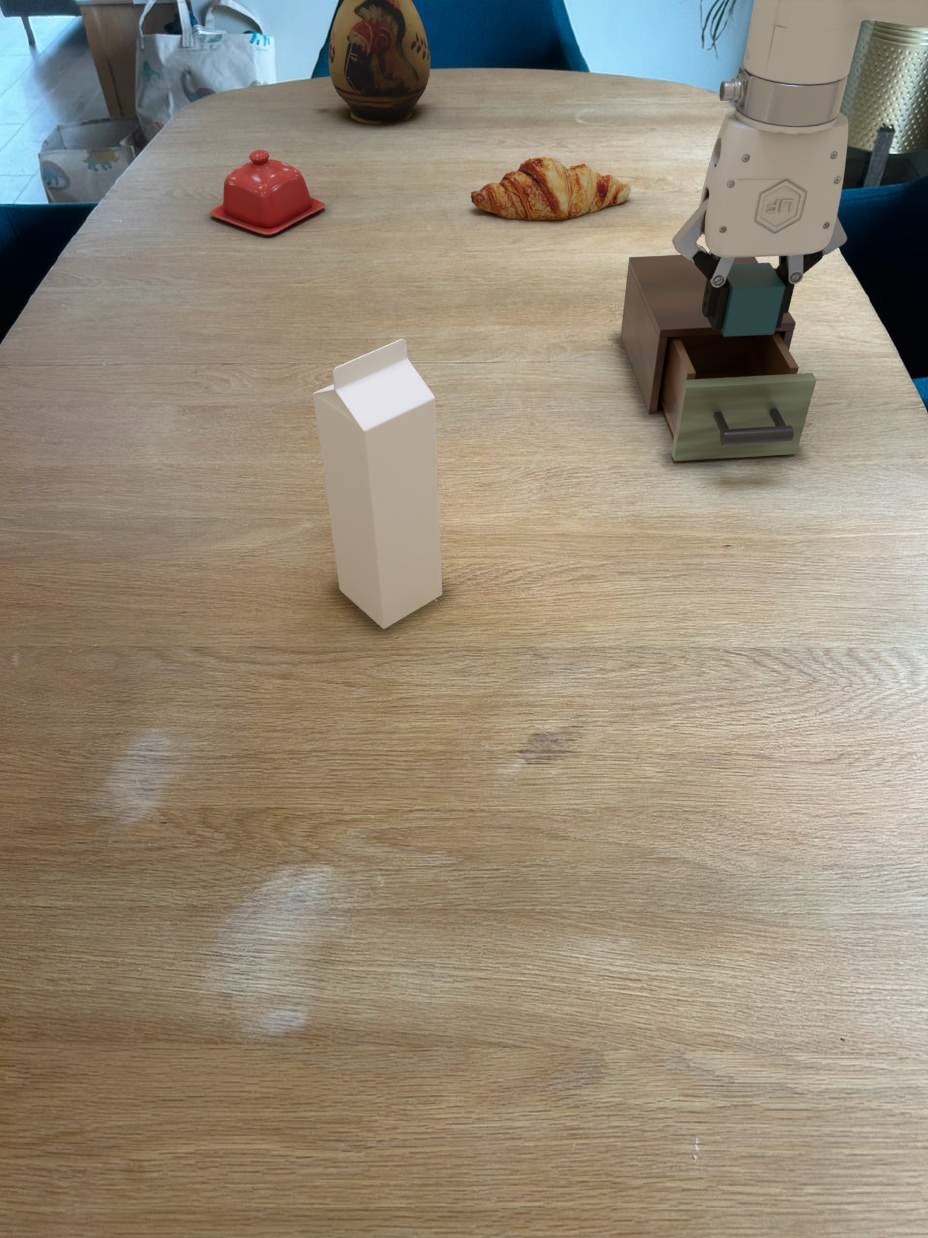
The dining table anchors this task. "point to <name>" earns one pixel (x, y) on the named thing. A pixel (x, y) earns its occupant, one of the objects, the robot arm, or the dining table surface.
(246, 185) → the butter dish
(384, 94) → the ceramic jug
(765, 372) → the drawer
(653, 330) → the cabinet
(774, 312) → the block
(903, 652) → the dining table surface
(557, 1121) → the dining table surface
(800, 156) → the robot arm
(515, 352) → the dining table surface
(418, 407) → the milk
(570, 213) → the croissant
